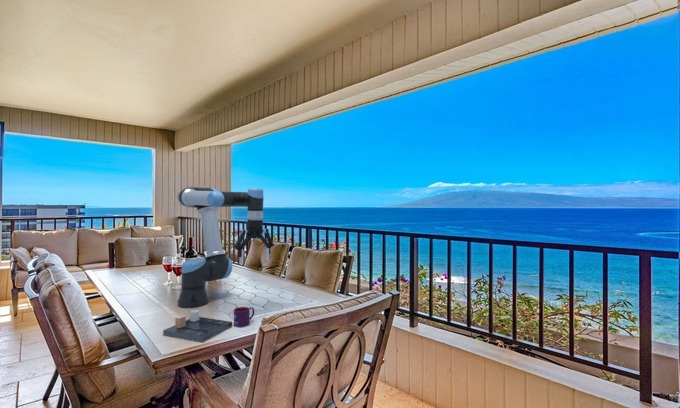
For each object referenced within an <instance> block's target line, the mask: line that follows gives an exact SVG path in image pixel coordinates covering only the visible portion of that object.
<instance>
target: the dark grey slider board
mask: <svg viewBox="0 0 680 408" xmlns="http://www.w3.org/2000/svg"><path fill="white" fill-rule="evenodd" d="M231 328H233V321H229V320H223V319H215V318H209V317H203V316H199V320H197V321H195V322H192V321H190V318H189V319H186V326H184V327H182V328H175V324H174V325H173V326H170V327H168V328H165V329H163V331H162V333H163V334H162V336H166V337H171V338H177V339H182V340H187V341H192V340H193V342H199V343H205V342H206V341H208V340H210V339H212V338H213V337H216V336H217V335H219V334H221V333H223V332H225V331H226V330H228V329H231Z"/></svg>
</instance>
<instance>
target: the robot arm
mask: <svg viewBox="0 0 680 408" xmlns="http://www.w3.org/2000/svg"><path fill="white" fill-rule="evenodd" d="M264 197H265V196H264V189H263V188H262V187H261V188H260V187H259V188H257V187H249V188H248V189H247V191H221V190H218V189H216V188H212V187H197V186H196V187H195V186H194V187H193V186H188V187H185V188H183V189H181V190H180V191H179V193H178V195H177V200H178V202H179V203H180V205H182V206H183V207H185V208H186V207H187V208H194V209H196V211H197V212H198V213H199V214H200V217H201V224H202V232H203V237H204V244H205V251H206V255H205V257H197V258H191V259H187V260H186V261H183V262H182V264H181V291H180V293H179V297H178V300H177V307H180V308H185V309H189V308H198V307H202V306H206V305H207V304H208V303H209V301H210V299H209V296H208V293H207V289H206V283H207V282H211V281H213V282H214V281H219V280H223V279H227V278H229V277H230V276H231V273H232V271H233V261H232V259H231V258H230V257H228V256H227V252H224V251H223V245H222V239H221V233H220V227H219V226H220V225H219V221H218V215H217V211H218V210H219V208H226V207H227V208H228V207H229V208H231V207H232V208H237V207H238V208H239V207H240V208H242V207H243V208H247V214H246V215H247V220H246V221H247V223H246V225H247V226H246V227H247V228H246V229H241V230H240V234H239V236H238V238H237V241H236V243H235V245H234V247H233V248H234V250H237V258H239V264H240V265H244V252H245V251H244V250H243V249H244V248H245V246H246V245H247V244H248V243H249V241H250V240H252V239H260V241H261V242H262V243H263V244H264V246H265V248H264V261H266V262H269V261H270V260H269V259H270V254H271V248H272V247H274V246H275V244H274V241H273V240H272V237H271V235H270V233H269V229H268V228H266V227H265V228H264V229H263V227H264V220H263V218H264ZM263 233H264V235H263ZM246 234H247V235H246ZM245 235H246V236H245ZM264 236H265V237H264Z"/></svg>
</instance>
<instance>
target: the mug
mask: <svg viewBox="0 0 680 408" xmlns="http://www.w3.org/2000/svg"><path fill="white" fill-rule="evenodd" d="M250 310H252V312H251V311H250ZM250 312H251V315H250ZM254 316H255V308H254V307H248V306H238V307H236V308H234V309H233V326H234V327H235V328H243V327H244V328H245V327H247V326H249V325H250V320H251V319H252V318H253V317H254Z"/></svg>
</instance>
